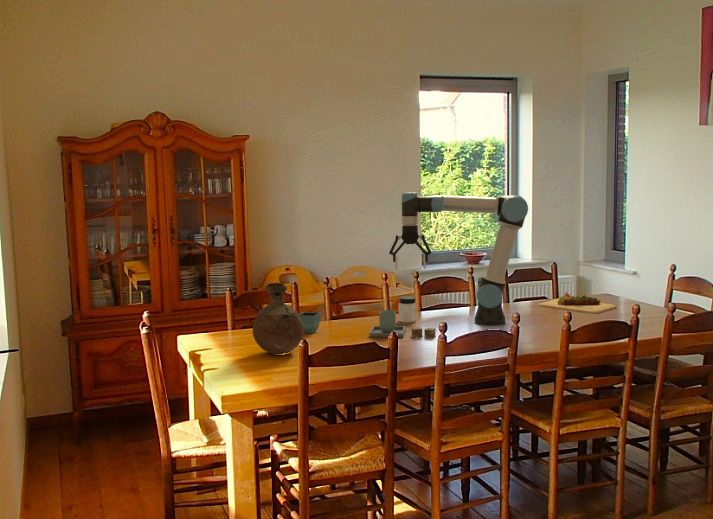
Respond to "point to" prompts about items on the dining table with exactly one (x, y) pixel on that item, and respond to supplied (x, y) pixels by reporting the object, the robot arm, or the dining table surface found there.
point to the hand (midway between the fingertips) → (410, 268)
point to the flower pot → (310, 321)
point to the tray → (378, 333)
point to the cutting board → (578, 304)
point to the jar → (407, 309)
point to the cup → (387, 321)
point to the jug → (277, 323)
